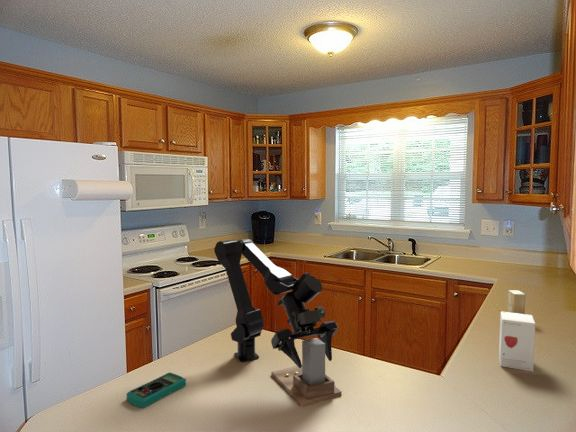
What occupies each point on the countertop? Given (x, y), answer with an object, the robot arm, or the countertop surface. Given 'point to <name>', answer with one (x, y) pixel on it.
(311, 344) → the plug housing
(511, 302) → the skincare box
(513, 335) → the supplement box
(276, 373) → the walnut holder
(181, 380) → the digital multimeter
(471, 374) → the countertop surface
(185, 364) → the countertop surface
